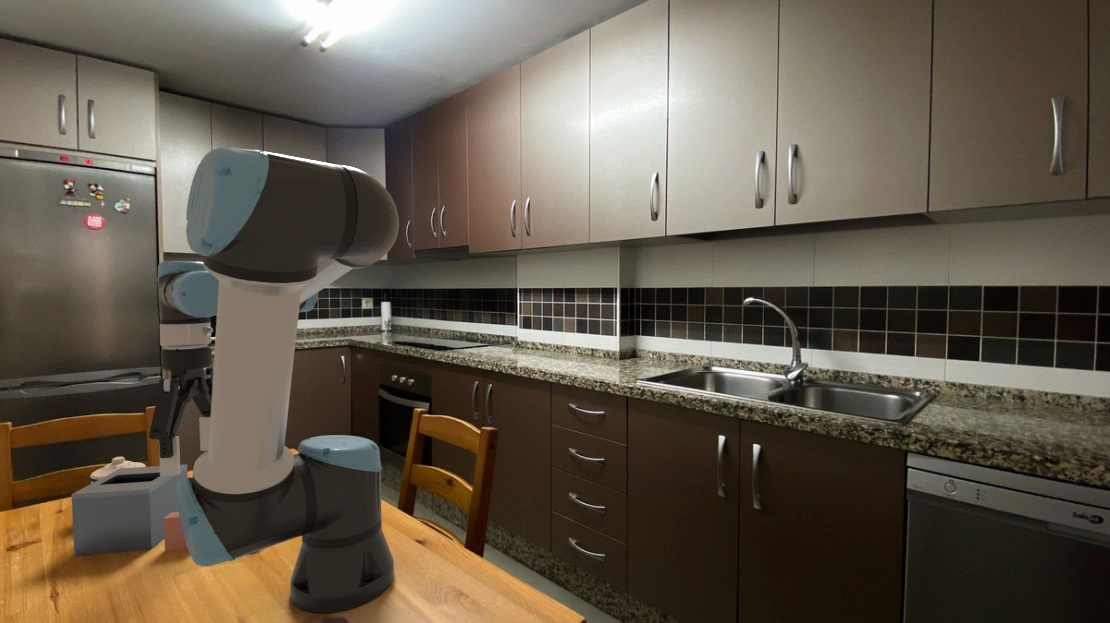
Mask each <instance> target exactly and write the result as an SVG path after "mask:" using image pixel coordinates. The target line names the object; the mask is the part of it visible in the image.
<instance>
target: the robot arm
mask: <svg viewBox="0 0 1110 623" xmlns="http://www.w3.org/2000/svg"><path fill="white" fill-rule="evenodd" d="M185 213H186V214H185V215H186V217H185V218H186V221H187V223H186V227H185V228H186V229H185V230H186V231H185V233H186V239H187V244H188V246H189V249H190V250H192V252H193V253H196V254H198V255H200V256H203V261H194V260H193V261H189V260H170V261H169V260H165V261H161V262H160V263H159V264H158V267H157V278H156V283H157V288H158V292H157V293H158V307H159V344H160V346H161V347H164V348H162V349H161V351H160V359H161V360H160V364H161V369H163V370H164V371H169V372H170V377H169V378H161V379H159V380H158V393H157V397H156V402H155V406H154V407H155V408H154V412H153V414H152V420H151V425H150V428H149V429H150V430H149V433H148V437H149V439H151V440H158V449H159V450H158V452H159V466H160V476H172V475H179V474H180V465H181V456H180V436H179V435H178V436H176V435H177V432H178V430H179V426H180V423H181V421H182V419H183V418H182V417H183V415H184V413H185V409H186V406H187V404H188V403H190V402H191V401H192V400H193V402H194V404H195V405H196V408H197V409H198V411H199V413H200V415H202V416H200V417H199V421H198V423H199V446H200V449H199V450H200V451H201V452H202V451H203V453H202V454H201V455H199V457H198V458H197V459H196V460H195V462H194V466H193V467H192V469H193V470H192V477H190V476H188V477H186V478H185V479H184V480H181V481H179V482H178V483H177V484H176V488H175V492H176V500H177V506H178V511H179V516H180V520H181V525H182V529H183V533H184V536H185V540H186V543H187V547H188V549H187V550H188V553H189V555H190V558H191V559H192V561H193V563H194V564H195V565H196V566H197V565H198V566H199V567H207V568H208V567H211V566H215V565H219V564H223V563H226V562H232V561H235V560H236V559H238V558H242V557H244V556H247V555H250V554H252V553H256V552H259V551H262V550H264V549H267V548H270V547H273V546H276V545H279V544H282V543H285V542H287V541H290V540H293V539H296V538H299V537H300V538H301V546H300V548H299V553H298V554H297V558H296V561H295V564H294V568H293V570H292V571H293V572H292V574H291V578H290V585H289V586H290V589H289V590H290V601H291V602H292V604H293V605H294V606H295V607H297V608H299V609H300V610H303V611H305V612H311V613H321V614H322V613H324V614H325V613H334V612H335V613H336V612H341V611H346V610H349V609H353V608H357V607H359V606H362V605H363V604H367V603H368V602H370V601H372V600H374V599H376V598H377V597H378V596H380V595H381V594H383V593H384V592H385V591H386V590H387V589H388V588H389V587H390V585H391V583H392V582H393V580H394V576H395V564H394V557H393V555H392V552H391V549H390V547H389V544H388V542H387V539H386V537H385V534H384V531H383V528H382V527H383V525H382V470H383V466H382V462H381V454H380V448H379V445H377V443H375V441H373V440H371V439H369V438H365V437H362V436H356V435H345V434H343V435H342V434H341V435H339V434H336V435H335V434H333V435H331V434H329V435H318V436H313V437H309V438H307V439H303V440H302V441H301V442H300V443H299V446H298V447H297V452H298V453H295V454H294V453H293V452H292V450H290V448H288V447H287V446H286V445H285V441H286V433H287V422H288V414H289V407H290V406H289V405H290V397H291V396H290V395H291V388H292V379H293V378H292V377H293V370H294V369H293V368H294V359H295V350H296V342H297V341H296V340H297V332H298V322H299V314H300V313H305V312H310V311H312V310H313V309H314V308H315V305H316V303H317V301H318V294H319V292H320V291H322V290H323V289H325V288H327V287H328V286H329V285H331V284H332V283H334V282H335V281H337V280H338V279H340V278H341V277H343V276H344V275H346V274H347V273H349V272H350V271H352V270H353V269H363V268H366V267H369V266H371V265H373V264H375V263H376V262H379V260H381V259H383V257H384V256H386V255H387V254H388V253H389V252H390V250H391V249H392V248H393V246H394V245H395V243H396V241H397V238H398V235H399V229H400V228H399V227H400V220H399V219H400V218H399V212H398V209H397V206H396V203H395V201H394V199H393V197H392V196H391V194H390V193H389V192H388V190H387V189H386V188H385V186H383V185H382V183H380V181H378V179H375V178H374V177H373V176H372V175H371V174H369V173H368V172H365V171H363V170H361V169H359V168H356V167H352V166H348V165H343V164H334V163H328V162H322V161H318V160H311V159H308V158H301V157H295V156H290V155H285V154H281V153H274V152H270V151H264V150H262V149H249V148H239V147H228V146H222V147H217V148H213V149H211V150H210V151H208V152H207V153H206V154H205V155H204V156H203V157H202V159H201V160H200V163H199V164H198V166H197V167H196V170H195V172H194V176H193V177H192V182H191V185H190V189H189V194H188V199H187V206H186V212H185ZM214 316H216V320H215V322H216V323H215V324H216V325H215V340H214V353H213V350H212V347H211V346H209V344H211V343H212V333H214V329H213V327H212V326H211V321H212V320H211V317H214ZM213 355H214V356H213ZM213 357H214V358H213ZM212 365H213V367H211V366H212Z"/></svg>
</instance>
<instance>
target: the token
mask: <svg viewBox="0 0 1110 623" xmlns="http://www.w3.org/2000/svg"><path fill="white" fill-rule="evenodd" d="M164 537H165V538H164V551H165V552H169V551H183V550H184V551H185V550H188V547H187V543H186V540H185V536H184V533H183V529H182V525H181V520H180V516H179V512H173V513H170V514H169V515H168V516H166V517H165V518H164Z"/></svg>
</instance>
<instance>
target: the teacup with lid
mask: <svg viewBox="0 0 1110 623" xmlns="http://www.w3.org/2000/svg"><path fill="white" fill-rule="evenodd" d="M136 467H147V465H146V464H144V463H142V462H134V461H130V460H125V457H124V456H116V457H114V458H112V459H111V463H108V464H106V465H105V466H103V467H102V468H98V469H96V470H95V471H93V472H92V473H91V474H90V475H89V481H90V484H92V483H94V482H96V481H98V480H99V479H101V478H103V477H105V476H107V475H109V474H111V473H113V472H114V471H116V470H118V469H120V468H136Z"/></svg>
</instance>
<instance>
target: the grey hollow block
mask: <svg viewBox="0 0 1110 623" xmlns="http://www.w3.org/2000/svg"><path fill="white" fill-rule="evenodd" d="M186 477H189V476H188V464H180V474H179V475H172V476H160V465H154V466H153V465H152V466H146V467H136V468H120V469H118V470H116V471H114V472H113V473H111V474H109V475H107V476H105V477H103V478H101V479H99V480H98V481H96V482H94V483H92V484H91V483H90V484H88V485H86V486H84V487H83V488H81V489H79V490H77V491H75V492H73V493H72V494H71V512H72V515H71V516H72V531H73V532H72V534H73V535H72V536H73V551H74V553H73V554H74V557H77V556H88V555H98V554H99V555H100V554H110V553H121V552H123V553H124V552H134V551H145V550H152V549H154V548H155V547H156V546H157V545H159V543H160V542H162V541H163V540H165V537H164V518H165V517H166V516H168V515H169V514H170V513H173V512H179V511H178V506H177V500H176V492H175V488H176V484H177V483H178V482H179V481H181V480H184V479H185V478H186Z"/></svg>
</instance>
